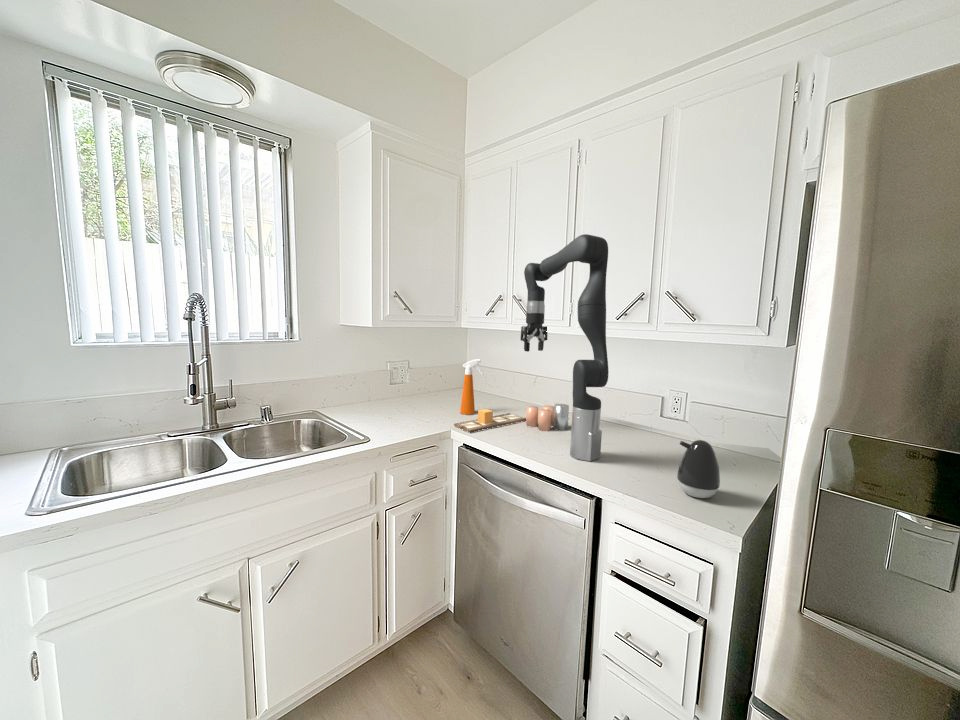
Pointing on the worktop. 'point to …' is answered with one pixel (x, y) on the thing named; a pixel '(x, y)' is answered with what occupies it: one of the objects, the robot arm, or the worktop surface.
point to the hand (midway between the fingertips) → (533, 351)
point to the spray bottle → (469, 388)
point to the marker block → (485, 416)
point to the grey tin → (561, 416)
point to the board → (497, 421)
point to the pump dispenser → (699, 470)
